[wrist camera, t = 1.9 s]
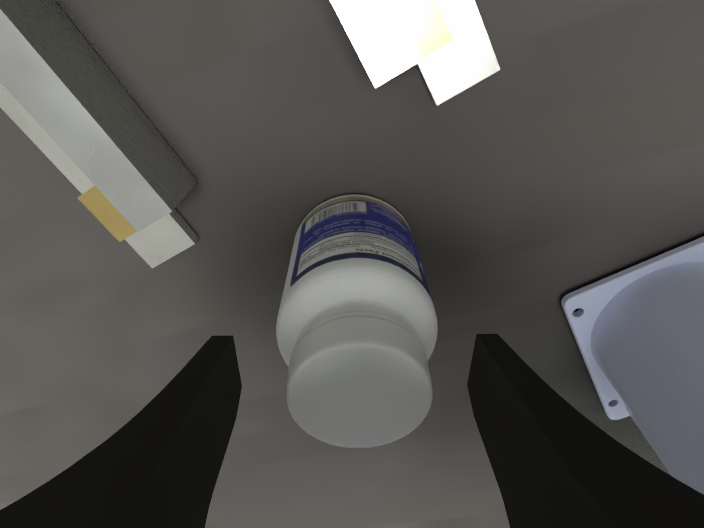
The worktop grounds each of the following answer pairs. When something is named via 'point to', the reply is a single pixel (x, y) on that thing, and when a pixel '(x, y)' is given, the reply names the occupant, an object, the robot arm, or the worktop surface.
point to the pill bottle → (356, 325)
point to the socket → (143, 138)
